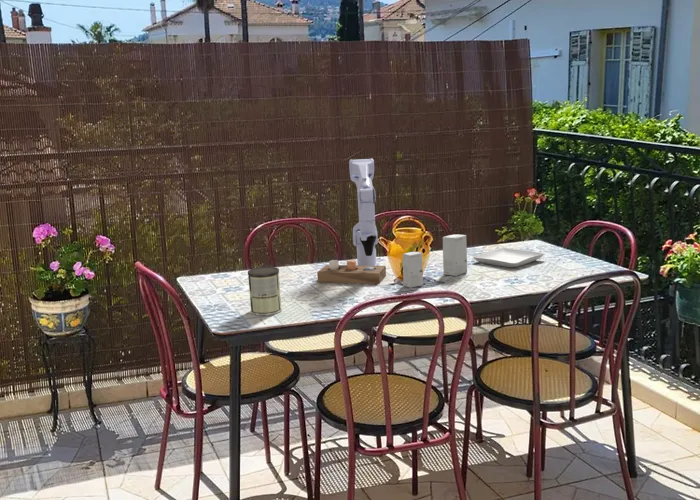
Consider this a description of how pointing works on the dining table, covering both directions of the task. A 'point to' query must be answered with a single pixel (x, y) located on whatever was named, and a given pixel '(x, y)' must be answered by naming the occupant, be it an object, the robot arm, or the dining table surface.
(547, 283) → the dining table surface
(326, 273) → the walnut button box
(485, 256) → the salad plate
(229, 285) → the dining table surface
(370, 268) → the slate plunger
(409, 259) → the skincare box
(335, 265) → the cream plunger
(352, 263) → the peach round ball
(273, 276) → the coffee can
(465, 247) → the skincare box
